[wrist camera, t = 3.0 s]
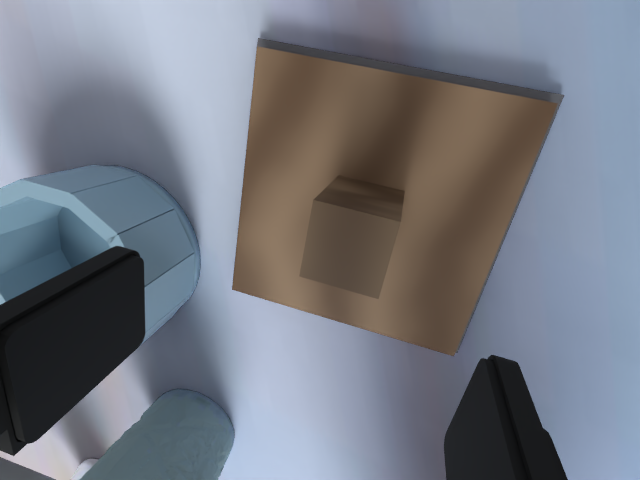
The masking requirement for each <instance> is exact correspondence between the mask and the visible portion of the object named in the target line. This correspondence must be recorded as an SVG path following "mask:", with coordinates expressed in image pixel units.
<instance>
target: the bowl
mask: <svg viewBox="0 0 640 480" xmlns="http://www.w3.org/2000/svg"><path fill="white" fill-rule="evenodd" d="M114 246H121V247H125V248H128V249H132V250H135V251H137V252H139V254H140V257H141V258H142V259H143V261H144V284H145V338H144V340H143V342H142V344H143V343H144V342H145V341H146V340H147V339H148V338H149V337H150V336H152V335H153V334H154V333H155V332H156V331H157V330H158V329H159V328H161V327H162V326H163V325H164V324H165V323H166V322H167V321H168V320H170V319H171V318H172V317H173V315H174V314H175V313H176V312H177V311H178V309H179V308H180V307H181V306H183V305H184V304H185V303H186V302H187V301H188V300H189V298H190V297H191V295H192V294H193V292H194V290H195V288H196V286H197V283H198V279H199V274H200V252H199V246H198V242H197V238H196V235H195V233H194V230H193V227H192V225H191V223H190V221H189V219H188V218H187V216H186V214H185V213H184V211H183V210H182V208H181V207H180V205H179V204H178V203H177V202H176V200H175V199H174V198H173V197H172V196H171V195H170V194H169V193H168V192H167V191H166V190H165V189H164V188H163V187H161V186H160V185H159V184H158V183H156V182H155V181H153V180H152V179H150V178H149V177H147V176H146V175H143V174H141V173H139V172H137V171H135V170H132V169H129V168H126V167H120V166H111V165H105V166H99V165H90V166H85V167H80V168H75V169H70V170H65V171H60V172H55V173H50V174H45V175H40V176H35V177H30V178H25V179H20V180H18V181H15V182H13V183H11V184H9V185H6V186H4V187H2V188H0V305H1V304H3V303H4V302H6V301H8V300H10V299H12V298H14V297H16V296H18V295H20V294H22V293H24V292H26V291H28V290H30V289H32V288H34V287H36V286H38V285H40V284H42V283H44V282H46V281H47V280H49V279H51V278H53V277H55V276H57V275H59V274H61V273H63V272H65V271H67V270H69V269H71V268H73V267H75V266H77V265H79V264H81V263H83V262H85V261H87V260H88V259H90V258H92V257H94V256H96V255H98V254H100V253H102V252H104V251H106V250H108V249H110V248H112V247H114Z"/></svg>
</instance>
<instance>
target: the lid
mask: <svg viewBox="0 0 640 480" xmlns="http://www.w3.org/2000/svg"><path fill="white" fill-rule="evenodd" d="M557 105H558V103H553V102H547V101H542V100H537V99H532V98H526V97H521V96H516V95H510V94H505V93H500V92H495V91H489V90H484V89H479V88H474V87H468V86H463V85H458V84H452V83H447V82H442V81H437V80H431V79H426V78H421V77H416V76H410V75H405V74H400V73H395V72H389V71H384V70H379V69H373V68H368V67H363V66H358V65H352V64H347V63H342V62H337V61H331V60H326V59H321V58H315V57H310V56H305V55H300V54H294V53H289V52H284V51H279V50H273V49H268V48H263V47H257V51H256V61H255V71H254V81H253V91H252V100H251V110H250V120H249V130H248V139H247V149H246V159H245V169H244V179H243V188H242V198H241V208H240V218H239V228H238V237H237V247H236V257H235V267H234V276H233V286H232V290H235V291H239V292H242V293H245V294H249V295H252V296H255V297H259V298H262V299H265V300H269V301H272V302H275V303H279V304H282V305H285V306H289V307H292V308H295V309H299V310H302V311H305V312H308V313H312V314H315V315H318V316H322V317H325V318H328V319H332V320H335V321H338V322H342V323H345V324H348V325H352V326H355V327H358V328H362V329H365V330H368V331H372V332H375V333H378V334H381V335H385V336H388V337H391V338H395V339H398V340H401V341H405V342H408V343H411V344H415V345H418V346H421V347H425V348H428V349H431V350H435V351H438V352H441V353H444V354H448V355H451V356H454V354H455V352H456V350H457V347H458V345H459V342H460V340H461V337H462V335H463V333H464V330H465V328H466V325H467V323H468V320H469V318H470V316H471V313H472V311H473V308H474V306H475V303H476V301H477V299H478V296H479V294H480V291H481V289H482V287H483V284H484V282H485V279H486V277H487V274H488V272H489V270H490V267H491V265H492V262H493V260H494V257H495V255H496V253H497V250H498V248H499V245H500V243H501V240H502V238H503V236H504V233H505V231H506V228H507V226H508V223H509V221H510V219H511V216H512V214H513V211H514V209H515V207H516V204H517V202H518V199H519V197H520V194H521V192H522V190H523V187H524V185H525V182H526V180H527V177H528V175H529V173H530V170H531V168H532V165H533V163H534V160H535V158H536V156H537V153H538V151H539V148H540V146H541V143H542V141H543V139H544V136H545V134H546V131H547V129H548V126H549V124H550V122H551V119H552V117H553V114H554V112H555V110H556V107H557Z"/></svg>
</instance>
